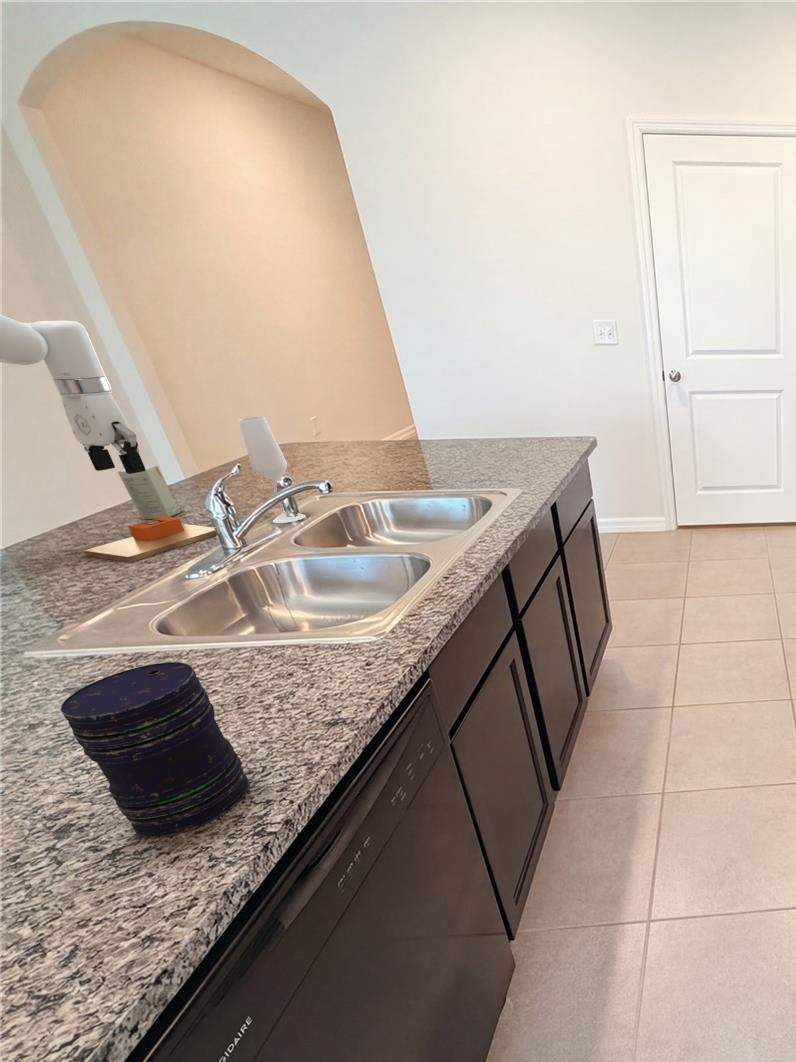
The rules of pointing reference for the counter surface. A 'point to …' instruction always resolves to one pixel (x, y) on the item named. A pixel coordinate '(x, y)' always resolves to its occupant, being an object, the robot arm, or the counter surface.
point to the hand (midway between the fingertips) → (121, 470)
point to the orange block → (156, 529)
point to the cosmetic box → (150, 493)
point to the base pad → (150, 544)
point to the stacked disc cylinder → (158, 747)
